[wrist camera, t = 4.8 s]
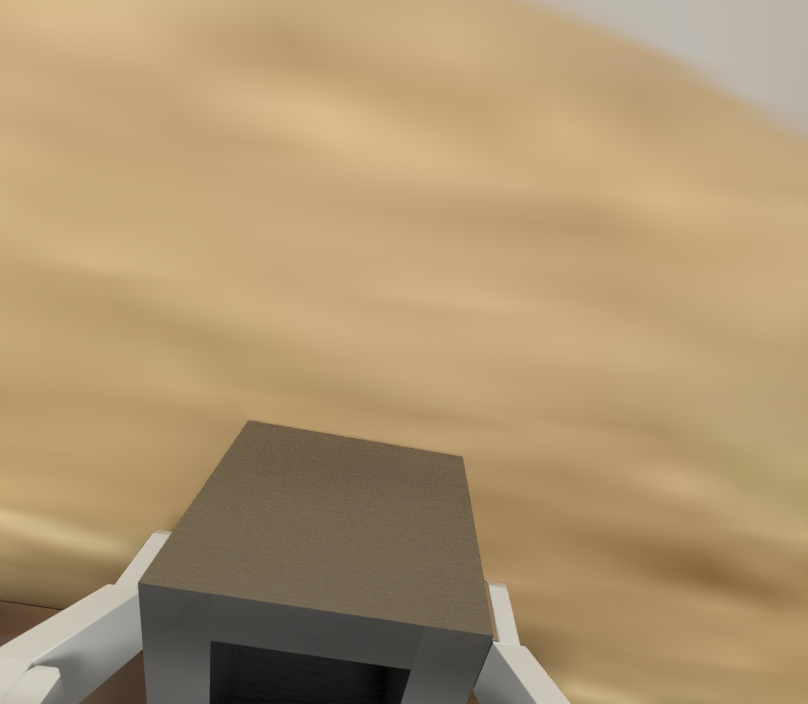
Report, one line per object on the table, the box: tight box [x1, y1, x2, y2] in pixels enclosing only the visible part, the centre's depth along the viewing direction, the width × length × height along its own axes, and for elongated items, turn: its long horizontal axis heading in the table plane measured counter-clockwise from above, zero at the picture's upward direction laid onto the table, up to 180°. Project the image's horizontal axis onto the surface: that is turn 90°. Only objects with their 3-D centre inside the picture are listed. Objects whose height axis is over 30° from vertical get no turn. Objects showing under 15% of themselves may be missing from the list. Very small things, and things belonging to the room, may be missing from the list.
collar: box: [138, 421, 494, 704], centre depth 11 cm, size 6×6×5 cm
